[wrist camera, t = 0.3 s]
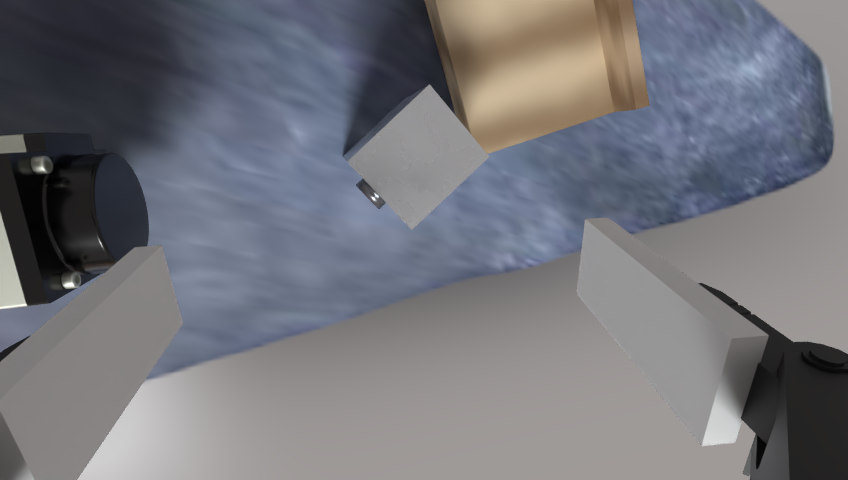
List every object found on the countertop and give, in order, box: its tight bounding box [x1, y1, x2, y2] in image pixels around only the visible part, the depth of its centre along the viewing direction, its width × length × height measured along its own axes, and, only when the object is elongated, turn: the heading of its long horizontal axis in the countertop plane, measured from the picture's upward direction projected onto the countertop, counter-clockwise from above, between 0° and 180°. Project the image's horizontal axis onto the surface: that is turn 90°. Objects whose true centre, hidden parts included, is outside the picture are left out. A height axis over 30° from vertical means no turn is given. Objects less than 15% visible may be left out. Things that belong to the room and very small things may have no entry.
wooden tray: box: [425, 0, 649, 154], centre depth 37 cm, size 16×14×6 cm
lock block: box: [343, 84, 489, 230], centre depth 35 cm, size 6×8×11 cm
